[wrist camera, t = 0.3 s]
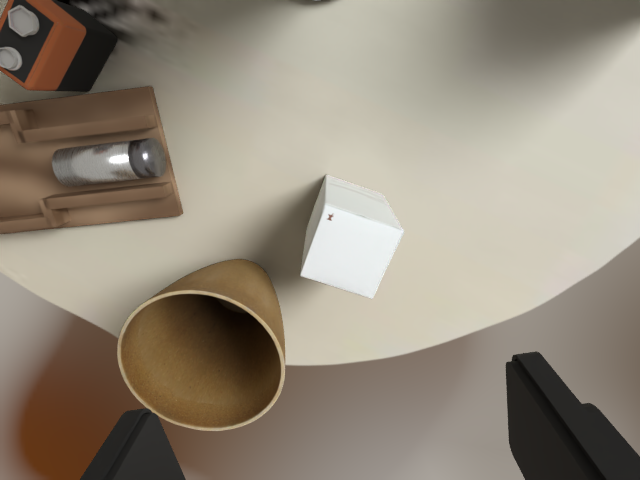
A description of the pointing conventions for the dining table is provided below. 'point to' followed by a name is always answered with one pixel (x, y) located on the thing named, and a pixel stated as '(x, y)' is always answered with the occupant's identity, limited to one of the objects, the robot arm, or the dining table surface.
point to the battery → (52, 45)
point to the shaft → (109, 162)
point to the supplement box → (350, 237)
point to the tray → (72, 131)
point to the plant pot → (207, 348)
